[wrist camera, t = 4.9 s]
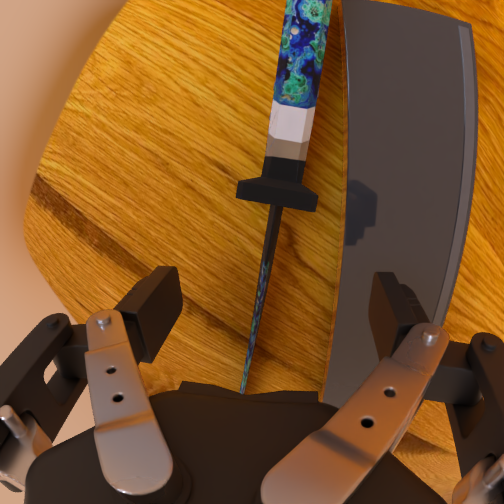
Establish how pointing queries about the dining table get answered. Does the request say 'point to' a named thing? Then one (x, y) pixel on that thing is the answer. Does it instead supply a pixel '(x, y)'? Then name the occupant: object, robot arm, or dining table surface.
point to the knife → (288, 135)
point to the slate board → (400, 170)
